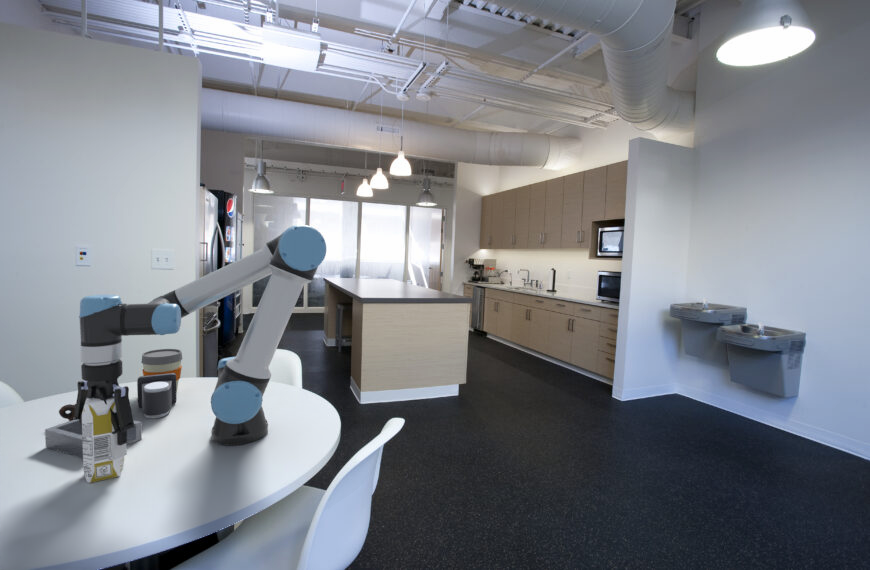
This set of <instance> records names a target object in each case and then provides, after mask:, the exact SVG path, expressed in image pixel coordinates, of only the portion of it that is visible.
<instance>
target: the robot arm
mask: <svg viewBox="0 0 870 570" xmlns="http://www.w3.org/2000/svg"><path fill="white" fill-rule="evenodd" d="M326 254H327V244H326V241H325V238H324V236H323V235H322V233H321V232H320V231H319V230H318V229H316V228H314V226H310V225H307V224H295V225H292V226H290V227H288V228H287V229H286V230H285V231H283V232H282V233H281V234H280V235H278V236H277V237H275V238H274V239H271V240H269V241H267V242H265V243H264V244H263V247H262V248H261V249H259V250H257V251H254V252H253V253H251V254H249V255H246V256H244V257H242V258H240V259H237V260H236V261H233V262H231V263H229V264H227V265H225V266H222V267H221V268H219V269H217V270H214V271H212V272H210V273H207V274H206V275H203V276H202V277H199V278H197V279H195V280H193V281H191V282H189V283H186V284H184V285H183V286H181V287H178V288H176V289H174V290H172V291H170V292H167V293H165V294H163V295H160V296H158V297H155V298H153V299H152V300H151V301H149V302H148V303H123V301H122V298H121V297H120V295H117V294H95V295H87V296H84V297H83V298H82V299H80V301H79V316H78V318H79V330H80V331H79V332H80V362H81V363H82V364H81V366H80V367H81V368H80V369H81V372H80V373H81V380H79V381H78V382H76V383H77V396H76V403H75V404H76V408H75V415H74V418H73V420H79V422H80V424H82V413H81V414H80V412H83V408H84V405H85V401H86V399H87V398H89V399H90V398H92V397H93V398H97V399H100V400H103V401H104V402H105V404H107V402H106V400H107V399H110V398H114V401H115V406H116V411H117V412H116V413H114V412H113V411H112V409H111V408H110V412H111V422H112V425H113V428H114V430H115V431H113V432H111V433H112V459H113V460H116V459H118V458H121V457H123V456H124V457H125V456H126V455H127V454H128V453H127V446H126V443H127V430H128V429H130V428H133V427H134V421H133V420H134V418H133V417H134V416H133V411H132V407H131V402H130V397H129V392H130V391H129V390H130V389H129V386H128V385H126V386H123V387H122V386H121V385H119V382H118V379H119V378H120V377H121V376H122V375H123V361H122V359H121V358H123V355H122V354H123V353H122V350H123V349H122V341H123V339H122V336H151V335H152V336H153V335H154V336H157V335H159V336H165V335H172V334H176V333H177V334H178V332H179V331H180V327H181V323H182V319H183V318H184V317H187V316H189V315H190V314H192V313H194V312H197V311H199V310H200V309H203V308H205V307H206V306H208V305H210V304H212V303H215V302H217V301H219V300H221V299H223V298H225V297H228V296H229V295H231V294H233V293H235V292H238V291H239V290H242V289H244V288H245V287H247V286H250V285H252V284H254V283H255V282H258V281H260V280H262V279H264V278H266V277H268V276H270V277H269V279H268V282H267V284H266V286H265V289H264V291H263V294H262V296H261V298H260V301H259V303H258V305H257V307H256V309H255V312H254V314H253V317H252V319H251V321H250V323H249V325H248V328H247V330H246V332H245V334H244V337H243V340H242V341H241V344H240V345H239V346H240V347H239V349H238V351H237V354H236V356H230V357H224V358H221V359H220V360H219V361H218V362H217V364H218V365H217V371H218V372H217V381H216V384H215V388H214V389H213V390H214V391H213V392H212V394H211V397H210V404H211V405H210V407H211V411H212V413H213V415H214V416H215V419H214V423H213V426H212V428H211V436H210V437H211V438H210V439H211V440H212V441H213V442H214V443H215V444H218V445H222V446H238V445H239V446H240V445H244V444H249V443H253V442H255V441H258V440H260V439H262V438H263V437H265V436H266V435H267V434H268V431H269V423H268V420H267V418H266V416H265V412H264V408H263V406H262V405H263V397H264V394H265V393H266V390H267V387H268V384H269V382H270V379H271V378H272V373H271V371H270V368H269V367H270V365H271V363H272V360H273V358H274V356H275V353H276V351H277V349H278V346H279V343H281V339H282V337H283V335H284V332H285V331H286V327H287V325H288V324H289V320H290V318H291V316H292V314H293V311H294V309H295V306H296V304H297V302H298V299H299V297H300V295H301V293H302V291H303V287H304V286H305V285H307V284H309V283H312V282H313V279H314V278H315V274H316V273H317V270H318V268H319V266H320V265H321V264H322V263H323V261H324V260H325V258H326ZM127 456H128V455H127Z"/></svg>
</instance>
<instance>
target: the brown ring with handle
mask: <svg viewBox="0 0 870 570" xmlns="http://www.w3.org/2000/svg"><path fill="white" fill-rule="evenodd" d="M75 408H76V403H75V404H65V405H63V406H61V407H60V409H59V410H58V413H59V414H58V415H60V417H62V418H63V419H66V420H69V421H72V420H74V415H75ZM67 411H68V412H67ZM81 413H82V412H80V414H81ZM69 421H68V422H69Z"/></svg>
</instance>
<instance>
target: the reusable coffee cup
mask: <svg viewBox="0 0 870 570" xmlns="http://www.w3.org/2000/svg"><path fill="white" fill-rule="evenodd" d="M182 360H183V352H182V350H181V349H177V348H161V349H153V350H148V351H145V352H143V353H142V355H141V361H140V362H141V364H142V368H143V369H141V370H142V376H148V375H158V374H167V373H175V374H176V393H178V387H179V380H180V379H181V374H182V369H183V368H182Z"/></svg>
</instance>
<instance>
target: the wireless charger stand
mask: <svg viewBox="0 0 870 570" xmlns="http://www.w3.org/2000/svg"><path fill="white" fill-rule="evenodd" d="M136 382H137V383H136V384H137V386H136V387H137V392H136V393H137V407H138V409H141V410H142V413H143V414H144V416H145V418H147V419H157V418H162V417H165V416H167V415H168V414H169V413H170V410H171V409H172V405H175V404H176V403H177V392H176V374H175V373H167V374H158V375H148V376H143V375H141V376H139V377H138V378H137V380H136Z"/></svg>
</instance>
